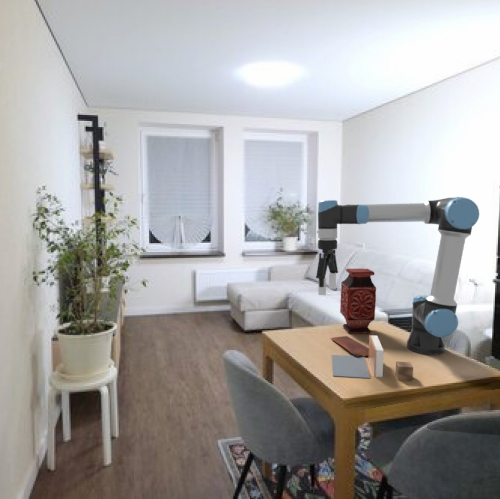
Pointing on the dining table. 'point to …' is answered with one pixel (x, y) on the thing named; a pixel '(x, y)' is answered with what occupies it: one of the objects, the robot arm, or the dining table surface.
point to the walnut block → (404, 371)
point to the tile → (375, 356)
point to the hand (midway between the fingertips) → (327, 291)
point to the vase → (358, 300)
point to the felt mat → (350, 366)
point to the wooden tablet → (352, 346)
